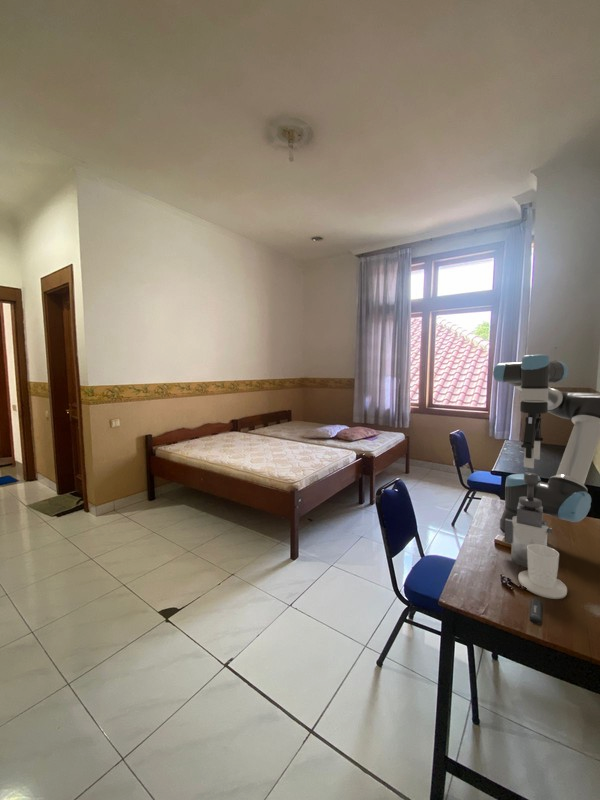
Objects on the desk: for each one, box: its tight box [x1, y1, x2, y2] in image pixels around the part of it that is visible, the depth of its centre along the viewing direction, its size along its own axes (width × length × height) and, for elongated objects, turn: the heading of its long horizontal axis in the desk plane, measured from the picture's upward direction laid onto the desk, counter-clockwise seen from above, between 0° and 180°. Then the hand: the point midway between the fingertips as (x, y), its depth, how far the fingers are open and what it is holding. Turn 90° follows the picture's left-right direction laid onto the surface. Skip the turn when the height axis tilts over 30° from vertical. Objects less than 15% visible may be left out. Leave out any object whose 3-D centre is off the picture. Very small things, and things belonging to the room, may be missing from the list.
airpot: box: [504, 503, 553, 568], centre depth 114 cm, size 13×10×19 cm
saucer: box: [518, 569, 568, 600], centre depth 101 cm, size 12×12×1 cm
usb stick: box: [529, 598, 543, 625], centre depth 90 cm, size 10×3×2 cm, turn 143°
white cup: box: [527, 544, 560, 588], centre depth 101 cm, size 8×8×10 cm
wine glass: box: [519, 472, 542, 510], centre depth 113 cm, size 6×6×16 cm
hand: (531, 463), depth 112 cm, fingers open, 13 cm apart
